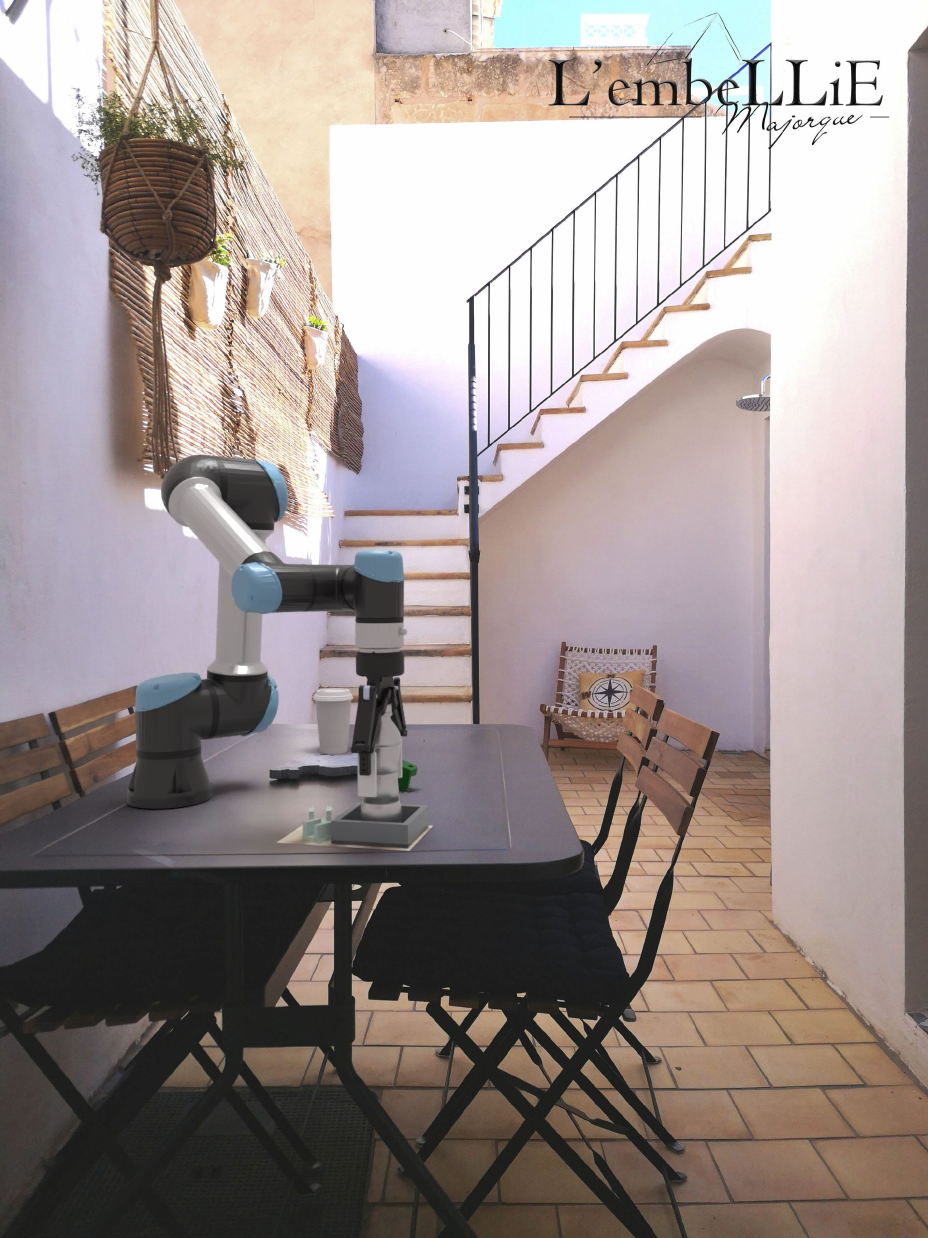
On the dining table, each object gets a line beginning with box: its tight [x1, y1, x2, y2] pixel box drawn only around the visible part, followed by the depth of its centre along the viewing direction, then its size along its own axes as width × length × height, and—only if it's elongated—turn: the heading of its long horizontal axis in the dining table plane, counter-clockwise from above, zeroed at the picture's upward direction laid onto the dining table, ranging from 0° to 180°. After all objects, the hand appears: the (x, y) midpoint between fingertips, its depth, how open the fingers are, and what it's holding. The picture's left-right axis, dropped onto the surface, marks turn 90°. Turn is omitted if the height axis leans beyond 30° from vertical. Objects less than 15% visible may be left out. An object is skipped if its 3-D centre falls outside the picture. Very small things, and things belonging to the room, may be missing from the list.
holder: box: [331, 801, 429, 848], centre depth 138 cm, size 12×12×4 cm
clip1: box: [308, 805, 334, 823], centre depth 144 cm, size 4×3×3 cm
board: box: [276, 824, 433, 852], centre depth 139 cm, size 21×14×1 cm, turn 78°
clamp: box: [398, 759, 419, 793], centre depth 172 cm, size 12×6×9 cm, turn 142°
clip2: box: [302, 817, 332, 844], centre depth 136 cm, size 4×3×3 cm
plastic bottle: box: [360, 703, 402, 823], centre depth 138 cm, size 6×7×20 cm
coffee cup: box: [313, 687, 354, 755], centre depth 214 cm, size 10×10×15 cm
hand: (381, 786), depth 138 cm, fingers open, 13 cm apart
